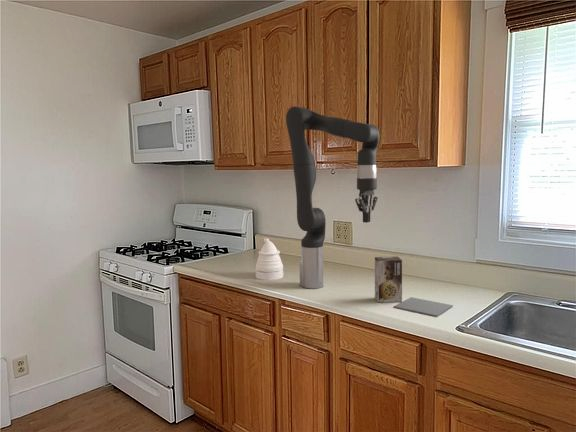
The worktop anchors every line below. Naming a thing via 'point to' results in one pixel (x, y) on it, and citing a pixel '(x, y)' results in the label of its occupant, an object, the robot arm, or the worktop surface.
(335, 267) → the worktop surface
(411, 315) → the worktop surface
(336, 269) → the worktop surface
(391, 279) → the coffee box
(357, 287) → the worktop surface
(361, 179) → the robot arm
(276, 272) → the honey pot
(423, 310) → the mat
